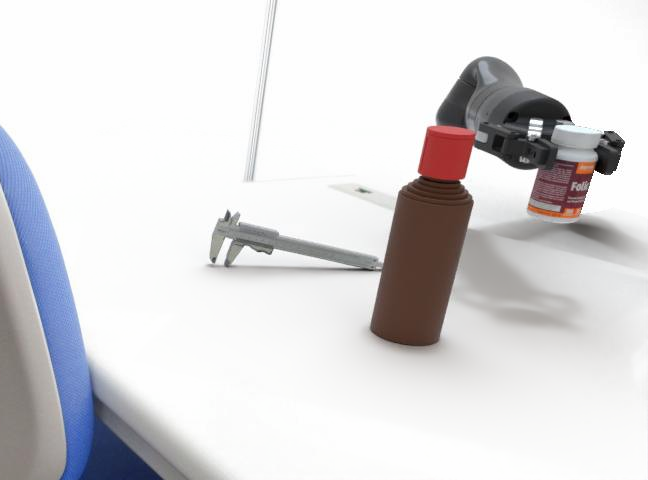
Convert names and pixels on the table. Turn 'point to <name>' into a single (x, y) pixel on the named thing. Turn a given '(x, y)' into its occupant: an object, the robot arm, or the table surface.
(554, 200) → the pill bottle
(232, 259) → the caliper
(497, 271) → the table surface
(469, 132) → the cap
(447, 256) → the sauce bottle
